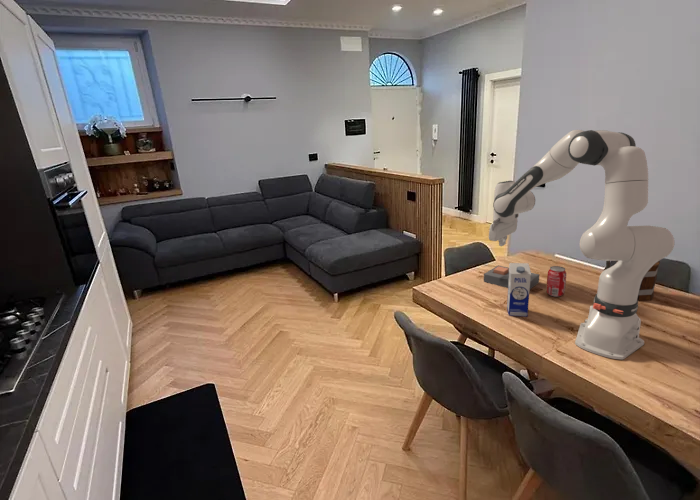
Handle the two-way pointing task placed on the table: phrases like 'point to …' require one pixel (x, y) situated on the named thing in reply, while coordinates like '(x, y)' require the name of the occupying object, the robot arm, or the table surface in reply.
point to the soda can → (556, 281)
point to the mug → (646, 282)
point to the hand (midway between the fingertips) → (502, 245)
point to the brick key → (501, 270)
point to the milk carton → (518, 289)
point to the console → (506, 278)
